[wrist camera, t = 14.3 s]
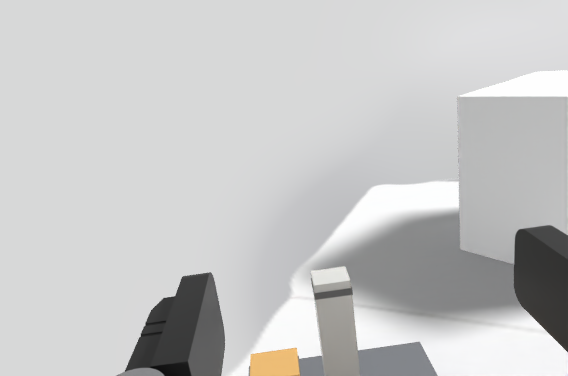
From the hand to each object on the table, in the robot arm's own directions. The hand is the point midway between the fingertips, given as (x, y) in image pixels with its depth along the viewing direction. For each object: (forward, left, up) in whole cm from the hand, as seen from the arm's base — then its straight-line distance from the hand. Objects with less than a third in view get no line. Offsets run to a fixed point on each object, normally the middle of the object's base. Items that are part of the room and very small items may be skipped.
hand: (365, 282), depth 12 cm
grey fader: (-1, -23, -24) cm, 34 cm away
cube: (-41, -52, -29) cm, 72 cm away
